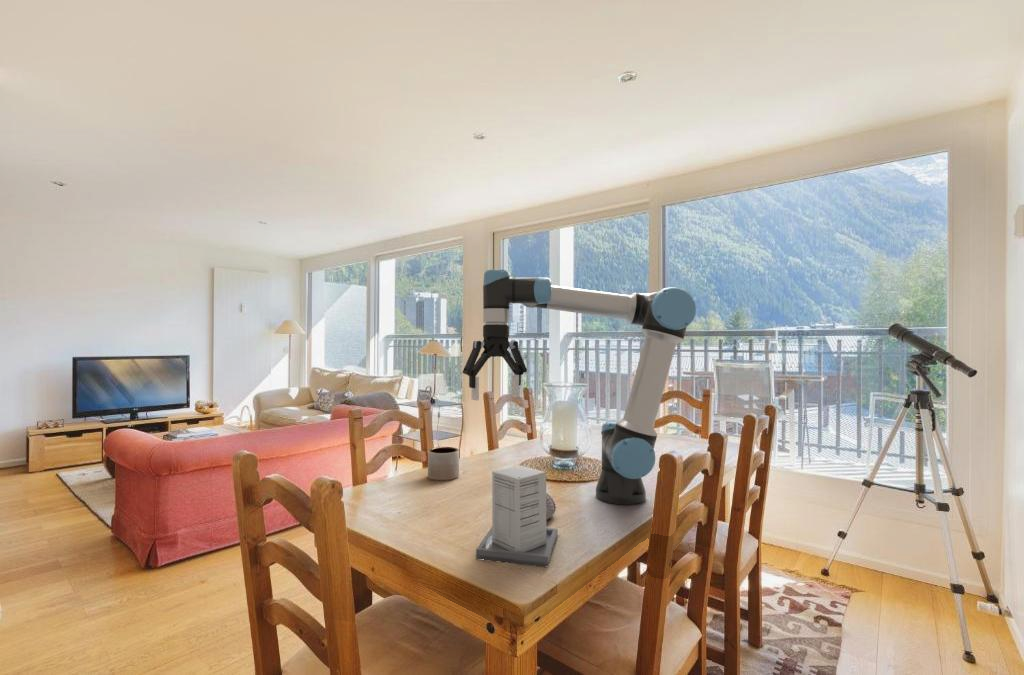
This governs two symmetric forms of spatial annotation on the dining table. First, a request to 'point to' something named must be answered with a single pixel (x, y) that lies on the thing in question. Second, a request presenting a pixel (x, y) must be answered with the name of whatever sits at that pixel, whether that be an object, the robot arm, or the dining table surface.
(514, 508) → the supplement box
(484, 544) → the tray
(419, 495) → the dining table surface
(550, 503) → the sea urchin shell
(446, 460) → the planter
